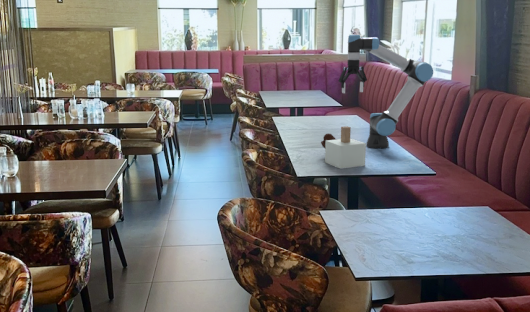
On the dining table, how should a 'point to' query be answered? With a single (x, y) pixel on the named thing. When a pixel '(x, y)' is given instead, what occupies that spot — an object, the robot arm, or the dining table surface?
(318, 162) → the dining table surface
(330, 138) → the ice cream bowl
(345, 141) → the white box with knob
